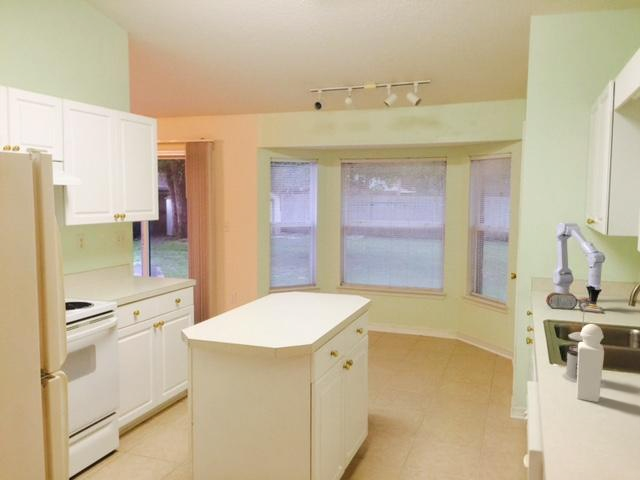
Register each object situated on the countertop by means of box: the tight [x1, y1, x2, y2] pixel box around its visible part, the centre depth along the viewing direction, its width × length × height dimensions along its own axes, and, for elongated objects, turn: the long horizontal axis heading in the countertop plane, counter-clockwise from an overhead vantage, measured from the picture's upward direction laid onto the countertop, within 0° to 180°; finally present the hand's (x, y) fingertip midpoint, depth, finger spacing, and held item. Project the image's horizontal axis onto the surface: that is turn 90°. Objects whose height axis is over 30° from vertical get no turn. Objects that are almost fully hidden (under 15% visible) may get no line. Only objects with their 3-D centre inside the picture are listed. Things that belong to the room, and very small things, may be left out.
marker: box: [589, 293, 598, 307], centre depth 266 cm, size 3×3×9 cm
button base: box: [578, 298, 590, 308], centre depth 274 cm, size 5×5×3 cm
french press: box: [562, 303, 588, 384], centre depth 164 cm, size 10×12×25 cm
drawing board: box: [579, 305, 604, 315], centre depth 265 cm, size 12×10×1 cm
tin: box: [545, 291, 578, 310], centre depth 266 cm, size 15×3×8 cm, turn 84°
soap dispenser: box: [576, 323, 605, 403], centre depth 149 cm, size 6×6×22 cm
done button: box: [579, 296, 590, 302], centre depth 274 cm, size 4×4×3 cm
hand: (592, 300), depth 266 cm, fingers closed on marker, 3 cm apart
